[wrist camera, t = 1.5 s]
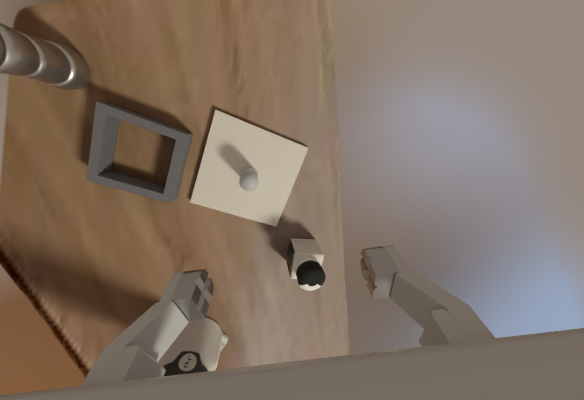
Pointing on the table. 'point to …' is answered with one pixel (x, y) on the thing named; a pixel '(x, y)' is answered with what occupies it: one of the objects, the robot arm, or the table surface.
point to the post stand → (246, 170)
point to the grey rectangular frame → (105, 148)
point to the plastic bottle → (41, 60)
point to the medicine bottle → (306, 263)
